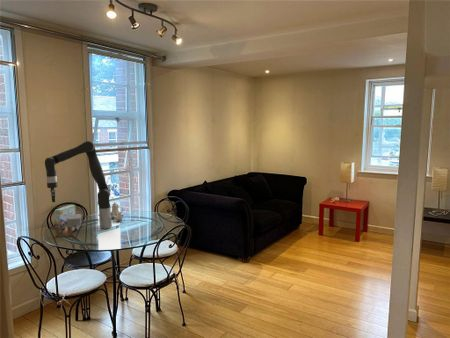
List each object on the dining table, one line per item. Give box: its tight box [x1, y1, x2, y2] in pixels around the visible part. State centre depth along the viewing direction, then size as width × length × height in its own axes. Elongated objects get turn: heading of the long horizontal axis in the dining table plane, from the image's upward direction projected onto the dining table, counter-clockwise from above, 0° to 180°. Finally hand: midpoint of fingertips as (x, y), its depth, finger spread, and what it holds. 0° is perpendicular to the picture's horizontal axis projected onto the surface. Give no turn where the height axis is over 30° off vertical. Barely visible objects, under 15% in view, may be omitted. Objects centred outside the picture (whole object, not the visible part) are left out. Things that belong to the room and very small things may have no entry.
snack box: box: [54, 204, 76, 227], centre depth 294 cm, size 21×6×15 cm, turn 168°
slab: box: [66, 213, 82, 227], centre depth 277 cm, size 10×16×6 cm, turn 21°
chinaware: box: [97, 201, 125, 223], centre depth 308 cm, size 28×17×17 cm, turn 76°
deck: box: [54, 225, 74, 238], centre depth 269 cm, size 12×28×9 cm, turn 6°
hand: (53, 201), depth 271 cm, fingers open, 8 cm apart
